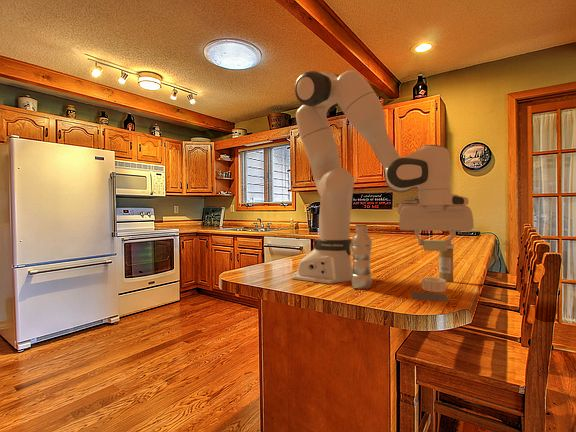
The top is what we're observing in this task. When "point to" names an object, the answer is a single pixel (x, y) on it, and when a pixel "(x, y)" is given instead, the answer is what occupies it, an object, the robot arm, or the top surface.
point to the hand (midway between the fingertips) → (434, 245)
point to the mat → (429, 296)
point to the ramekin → (433, 284)
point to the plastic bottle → (361, 258)
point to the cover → (435, 245)
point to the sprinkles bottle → (446, 264)
